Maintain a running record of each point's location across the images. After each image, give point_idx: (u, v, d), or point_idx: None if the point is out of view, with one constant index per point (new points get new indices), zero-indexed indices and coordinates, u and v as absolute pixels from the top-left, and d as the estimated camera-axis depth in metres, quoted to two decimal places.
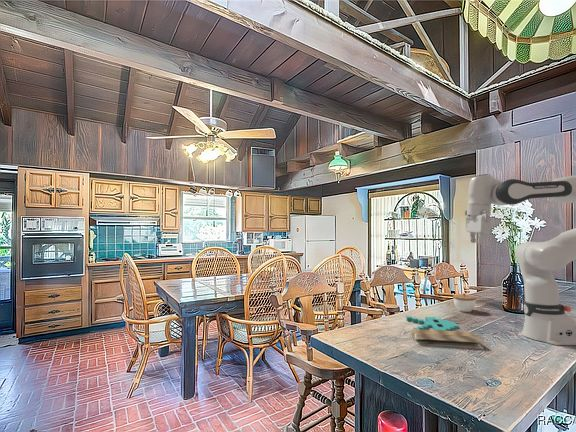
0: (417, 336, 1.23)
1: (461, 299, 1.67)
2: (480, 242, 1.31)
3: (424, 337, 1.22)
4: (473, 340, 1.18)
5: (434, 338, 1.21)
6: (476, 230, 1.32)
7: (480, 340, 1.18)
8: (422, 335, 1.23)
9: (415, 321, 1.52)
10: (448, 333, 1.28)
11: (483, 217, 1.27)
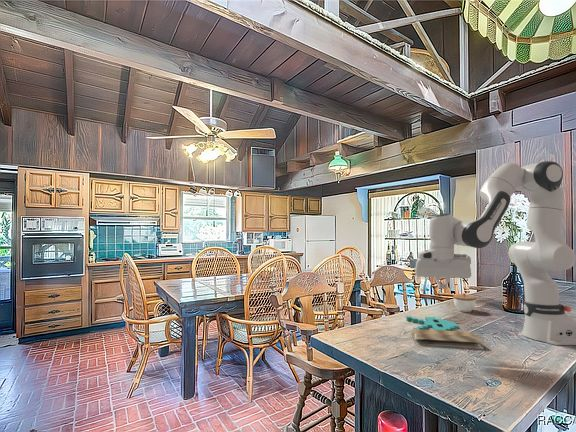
0: (417, 336, 1.23)
1: (461, 299, 1.67)
2: None
3: (424, 337, 1.22)
4: (473, 340, 1.18)
5: (434, 338, 1.21)
6: (456, 275, 1.22)
7: (480, 340, 1.18)
8: (422, 335, 1.23)
9: (415, 321, 1.52)
10: (448, 333, 1.28)
11: (468, 261, 1.22)
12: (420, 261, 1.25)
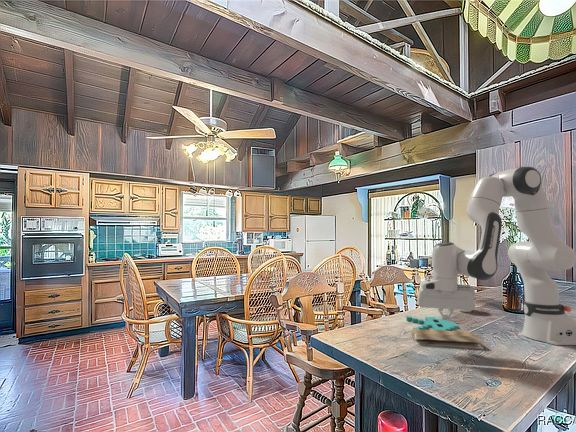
0: (417, 336, 1.23)
1: None
2: None
3: (424, 337, 1.22)
4: (473, 340, 1.18)
5: (434, 338, 1.21)
6: (460, 307, 1.19)
7: (480, 340, 1.18)
8: (422, 335, 1.23)
9: (415, 321, 1.52)
10: (448, 333, 1.28)
11: (472, 292, 1.19)
12: (423, 291, 1.22)
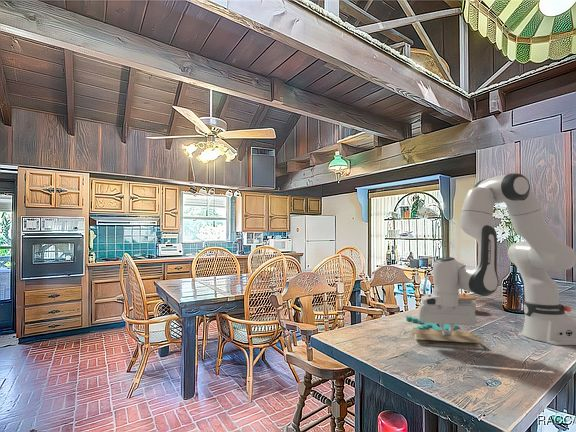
0: (417, 336, 1.23)
1: (461, 299, 1.67)
2: None
3: (424, 337, 1.22)
4: (473, 341, 1.18)
5: (434, 338, 1.21)
6: (461, 323, 1.18)
7: (480, 341, 1.17)
8: (422, 335, 1.23)
9: (415, 321, 1.52)
10: None
11: None
12: (423, 307, 1.21)
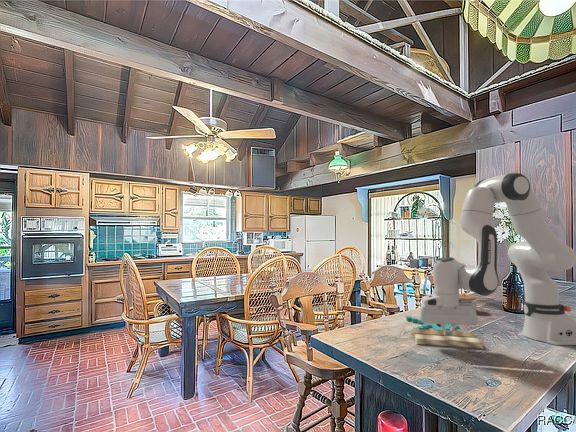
0: (417, 341, 1.22)
1: (461, 299, 1.67)
2: None
3: (424, 342, 1.22)
4: (474, 345, 1.17)
5: (434, 343, 1.21)
6: (462, 322, 1.19)
7: (481, 346, 1.17)
8: (423, 340, 1.22)
9: (415, 321, 1.52)
10: None
11: (474, 308, 1.19)
12: (424, 308, 1.22)
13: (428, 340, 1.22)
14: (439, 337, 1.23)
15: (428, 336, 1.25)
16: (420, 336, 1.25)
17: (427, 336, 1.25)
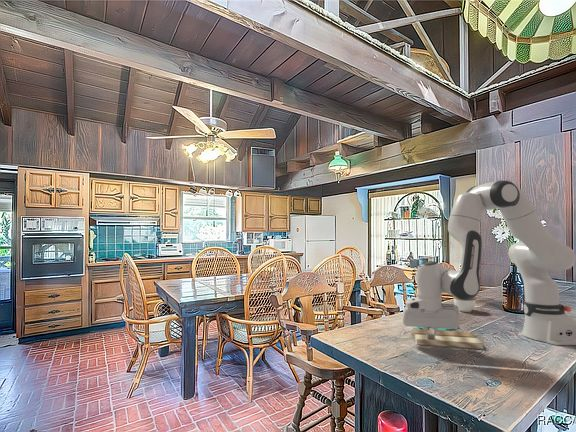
0: (417, 342, 1.22)
1: None
2: (434, 337, 1.22)
3: (424, 343, 1.22)
4: (474, 346, 1.17)
5: (435, 344, 1.21)
6: (444, 326, 1.20)
7: (481, 346, 1.17)
8: (423, 341, 1.22)
9: None
10: (448, 333, 1.28)
11: (455, 311, 1.20)
12: (407, 311, 1.23)
13: (428, 341, 1.21)
14: (439, 337, 1.23)
15: None
16: (420, 336, 1.25)
17: None
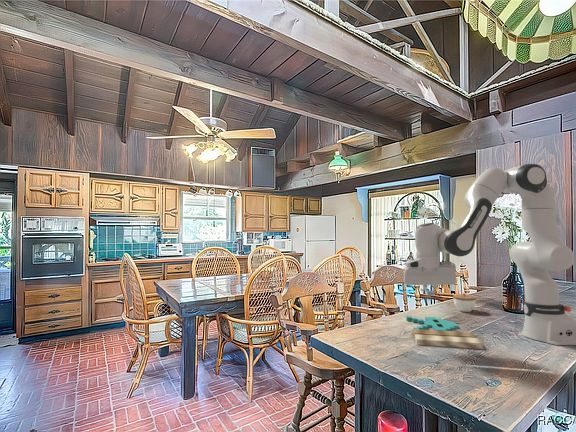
0: (417, 342, 1.22)
1: (461, 299, 1.67)
2: None
3: (424, 343, 1.22)
4: (474, 346, 1.17)
5: (435, 344, 1.21)
6: (443, 282, 1.27)
7: (481, 346, 1.17)
8: (423, 341, 1.22)
9: (415, 321, 1.52)
10: (448, 333, 1.28)
11: (453, 268, 1.27)
12: (407, 270, 1.30)
13: (428, 341, 1.21)
14: (439, 337, 1.23)
15: (428, 336, 1.25)
16: (420, 336, 1.25)
17: (427, 336, 1.25)
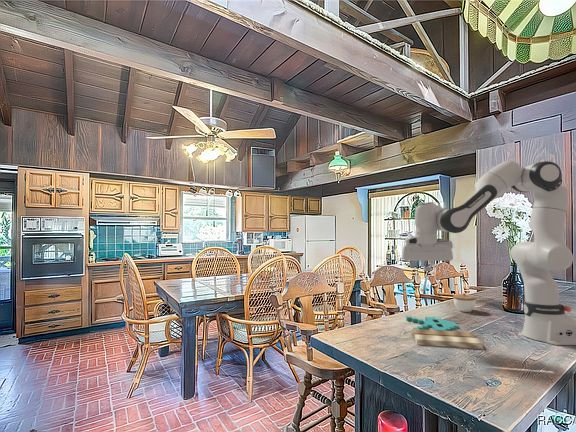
0: (417, 342, 1.22)
1: (461, 299, 1.67)
2: None
3: (424, 343, 1.22)
4: (474, 346, 1.17)
5: (435, 344, 1.21)
6: (439, 258, 1.34)
7: (481, 346, 1.17)
8: (423, 341, 1.22)
9: (415, 321, 1.52)
10: (448, 333, 1.28)
11: (450, 245, 1.34)
12: (406, 246, 1.37)
13: (428, 341, 1.21)
14: (439, 337, 1.23)
15: (428, 336, 1.25)
16: (420, 336, 1.25)
17: (427, 336, 1.25)
